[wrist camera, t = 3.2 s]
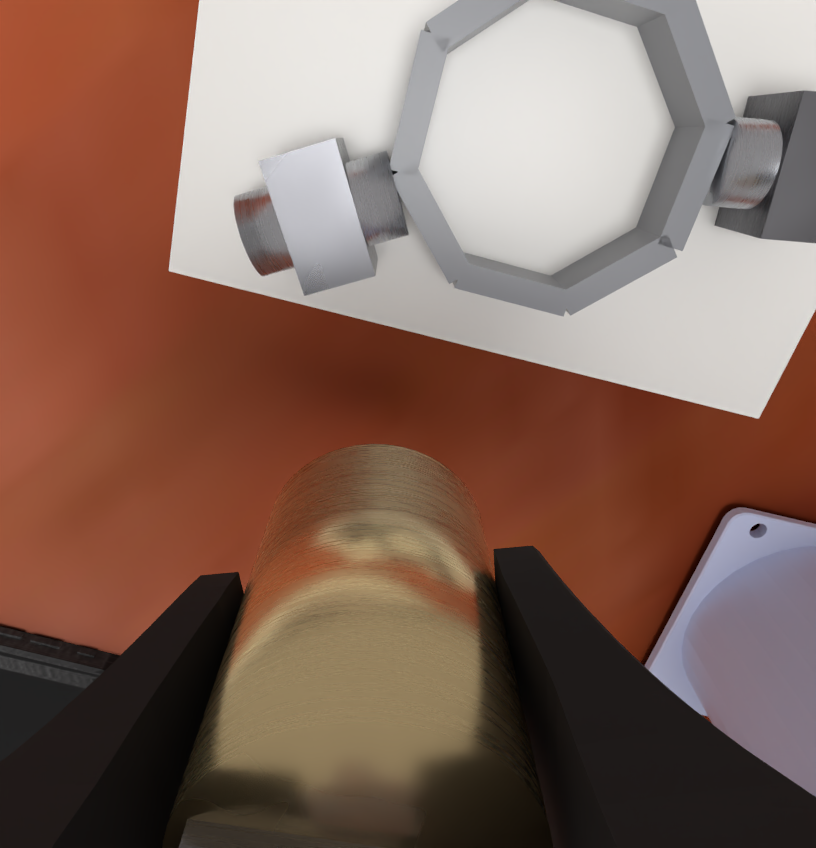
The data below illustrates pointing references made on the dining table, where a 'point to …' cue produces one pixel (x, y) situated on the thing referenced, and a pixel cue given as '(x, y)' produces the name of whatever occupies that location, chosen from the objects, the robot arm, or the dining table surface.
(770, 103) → the steel shaft
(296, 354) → the dining table surface
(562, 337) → the base plate
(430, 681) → the cylinder
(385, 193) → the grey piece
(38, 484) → the dining table surface
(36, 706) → the phone
